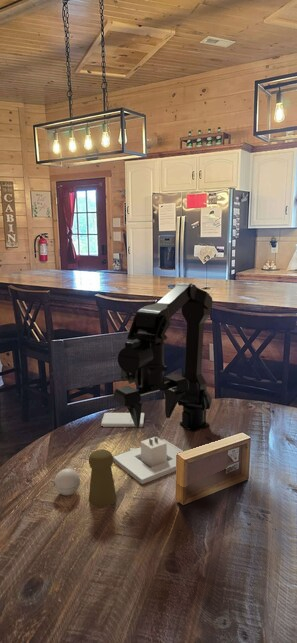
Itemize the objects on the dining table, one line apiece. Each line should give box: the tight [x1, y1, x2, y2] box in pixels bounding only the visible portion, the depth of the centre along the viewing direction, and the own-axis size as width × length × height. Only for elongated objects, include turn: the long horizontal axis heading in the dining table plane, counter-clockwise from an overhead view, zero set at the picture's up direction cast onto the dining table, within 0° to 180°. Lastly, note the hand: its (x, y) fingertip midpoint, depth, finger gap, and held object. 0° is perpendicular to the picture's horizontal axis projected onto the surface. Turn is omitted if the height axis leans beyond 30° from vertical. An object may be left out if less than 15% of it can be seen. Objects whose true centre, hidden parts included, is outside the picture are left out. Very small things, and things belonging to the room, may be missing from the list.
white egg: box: [53, 468, 81, 496], centre depth 98 cm, size 8×6×6 cm
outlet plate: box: [113, 438, 184, 485], centre depth 112 cm, size 16×13×1 cm
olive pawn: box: [88, 448, 117, 508], centre depth 96 cm, size 6×6×11 cm
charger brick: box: [140, 436, 167, 467], centre depth 111 cm, size 5×5×6 cm
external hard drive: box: [100, 412, 145, 428], centre depth 136 cm, size 2×8×12 cm
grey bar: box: [112, 447, 135, 457], centre depth 114 cm, size 9×2×1 cm, turn 125°
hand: (152, 422), depth 110 cm, fingers open, 9 cm apart
